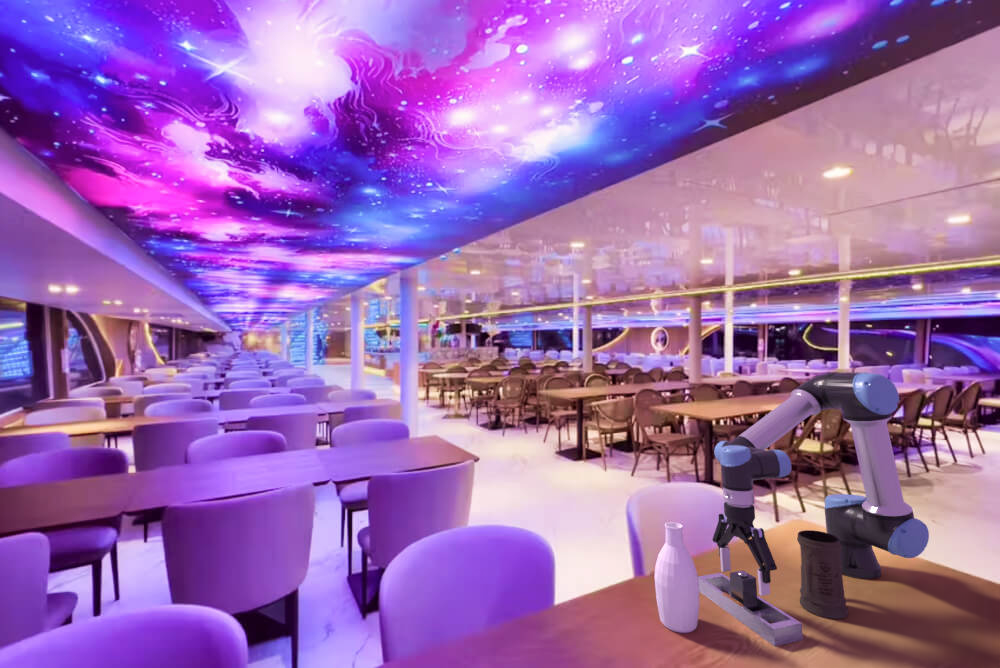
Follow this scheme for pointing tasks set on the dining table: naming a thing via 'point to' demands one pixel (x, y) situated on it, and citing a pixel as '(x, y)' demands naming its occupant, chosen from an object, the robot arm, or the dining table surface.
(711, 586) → the frame with square openings
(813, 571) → the beer stein
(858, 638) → the dining table surface
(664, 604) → the bottle
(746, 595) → the square peg with dome
